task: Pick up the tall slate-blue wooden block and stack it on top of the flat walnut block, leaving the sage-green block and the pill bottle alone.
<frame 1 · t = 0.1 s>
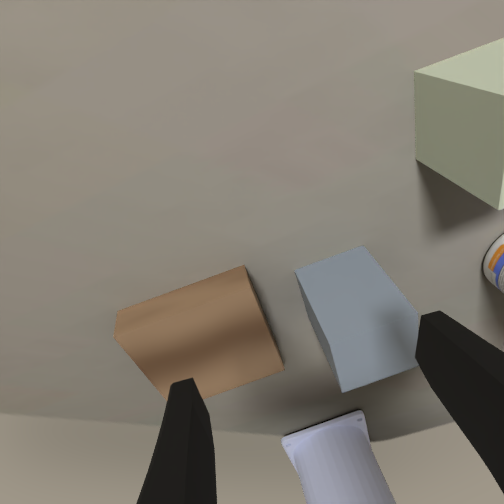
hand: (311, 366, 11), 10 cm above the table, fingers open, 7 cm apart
slate block: (334, 283, 23), on the table
walnut block: (204, 325, 24), on the table
sage block: (456, 102, 18), on the table
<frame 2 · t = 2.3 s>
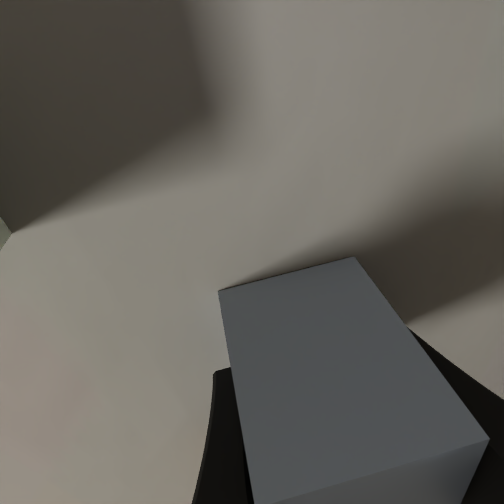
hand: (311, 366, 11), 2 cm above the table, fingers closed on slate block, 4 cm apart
slate block: (293, 321, 13), on the table, touching gripper
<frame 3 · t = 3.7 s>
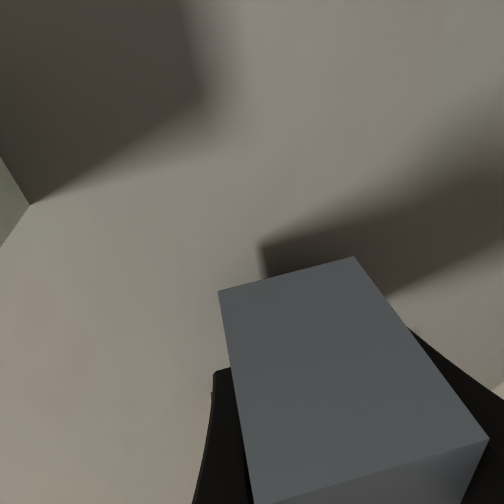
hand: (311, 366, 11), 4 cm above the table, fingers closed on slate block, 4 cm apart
slate block: (293, 321, 13), point 2 cm above the table, touching gripper
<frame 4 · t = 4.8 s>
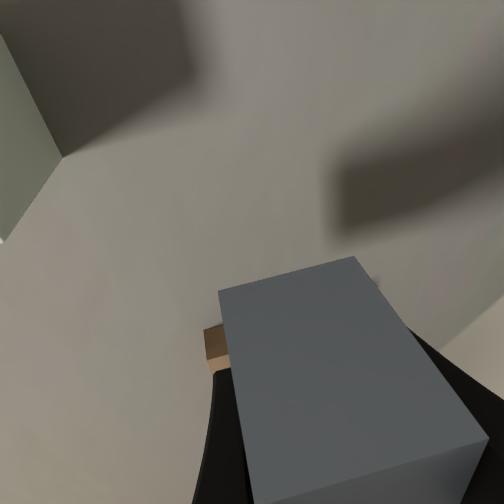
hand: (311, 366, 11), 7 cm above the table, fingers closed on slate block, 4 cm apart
slate block: (293, 321, 13), point 6 cm above the table, touching gripper
walnut block: (279, 350, 23), on the table
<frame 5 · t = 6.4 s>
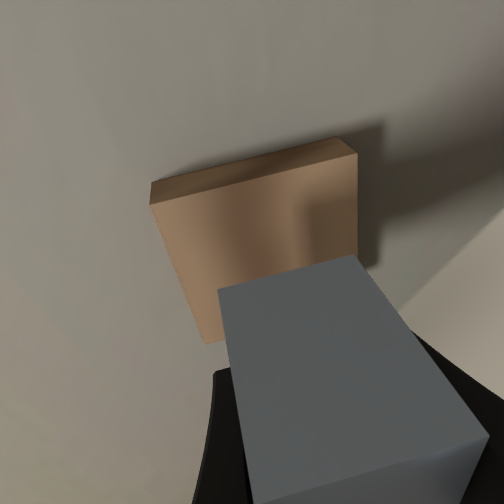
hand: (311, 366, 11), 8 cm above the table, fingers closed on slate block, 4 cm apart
slate block: (293, 320, 13), point 6 cm above the table, touching gripper
walnut block: (259, 232, 18), on the table
when the fingers open (5 cm above the table, at t = 7.7 s): slate block drops 1 cm, resting on walnut block.
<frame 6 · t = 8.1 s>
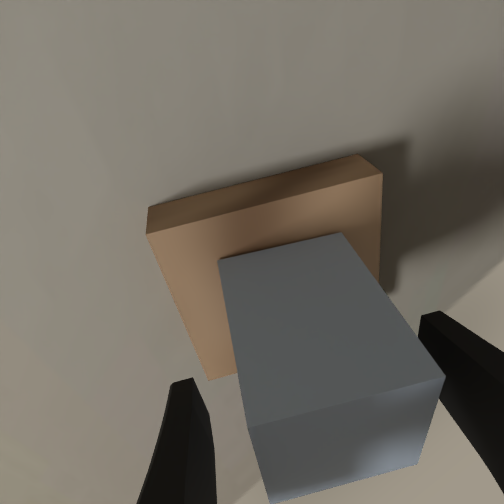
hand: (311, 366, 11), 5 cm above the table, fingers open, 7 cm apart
slate block: (285, 292, 14), point 2 cm above the table, touching walnut block
walnut block: (267, 256, 16), on the table, touching slate block
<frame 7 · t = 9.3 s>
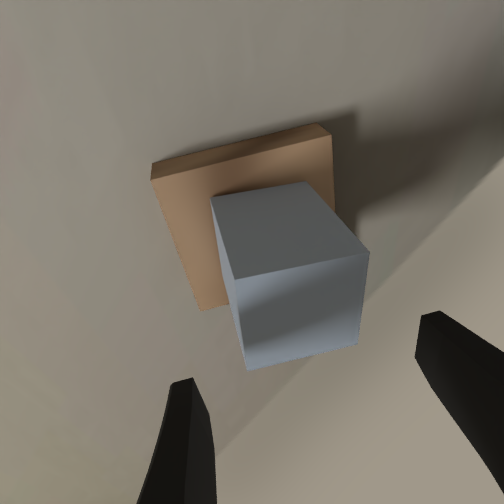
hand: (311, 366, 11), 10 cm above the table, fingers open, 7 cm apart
slate block: (262, 231, 17), point 2 cm above the table
walnut block: (248, 210, 20), on the table
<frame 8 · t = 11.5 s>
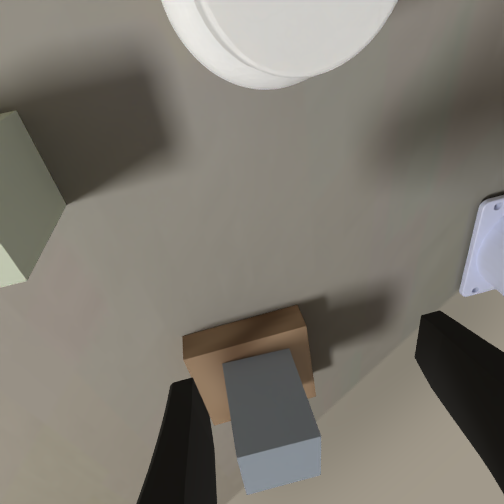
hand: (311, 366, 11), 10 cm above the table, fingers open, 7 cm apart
slate block: (259, 376, 25), point 2 cm above the table, touching walnut block
walnut block: (249, 351, 27), on the table, touching slate block
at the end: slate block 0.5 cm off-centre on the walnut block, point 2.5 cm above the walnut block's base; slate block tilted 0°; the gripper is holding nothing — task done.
